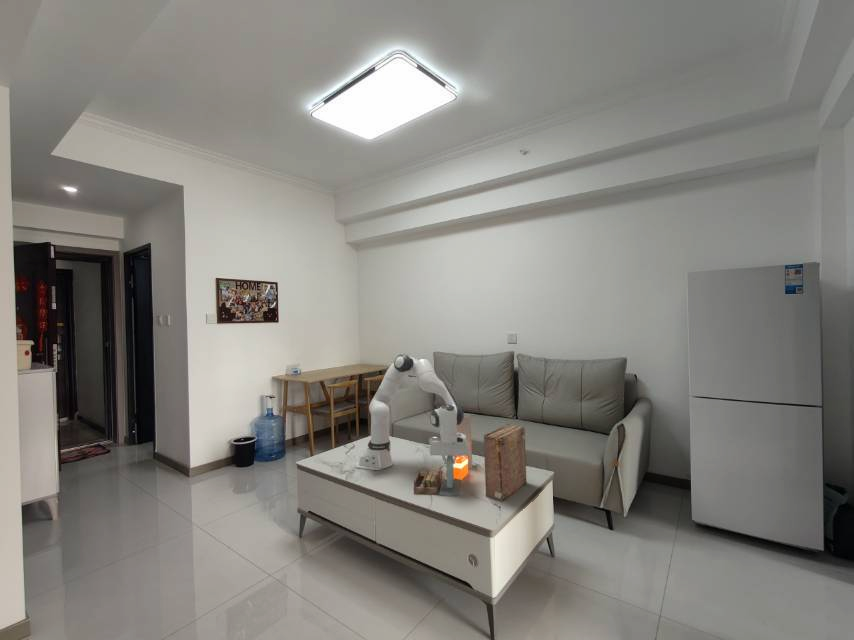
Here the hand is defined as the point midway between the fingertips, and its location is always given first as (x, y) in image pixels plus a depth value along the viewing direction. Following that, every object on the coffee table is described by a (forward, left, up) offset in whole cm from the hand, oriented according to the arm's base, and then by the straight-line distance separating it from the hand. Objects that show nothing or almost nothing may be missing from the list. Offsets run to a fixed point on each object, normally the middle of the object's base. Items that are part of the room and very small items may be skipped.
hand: (449, 463), depth 202 cm
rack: (-12, 0, -12) cm, 17 cm away
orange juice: (+3, +16, -13) cm, 21 cm away
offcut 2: (-9, 0, -13) cm, 15 cm away
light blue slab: (0, 0, -10) cm, 10 cm away
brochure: (+3, +29, -13) cm, 32 cm away
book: (+28, 0, -13) cm, 31 cm away
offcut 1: (-11, 0, -13) cm, 17 cm away
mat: (0, 0, -12) cm, 13 cm away
